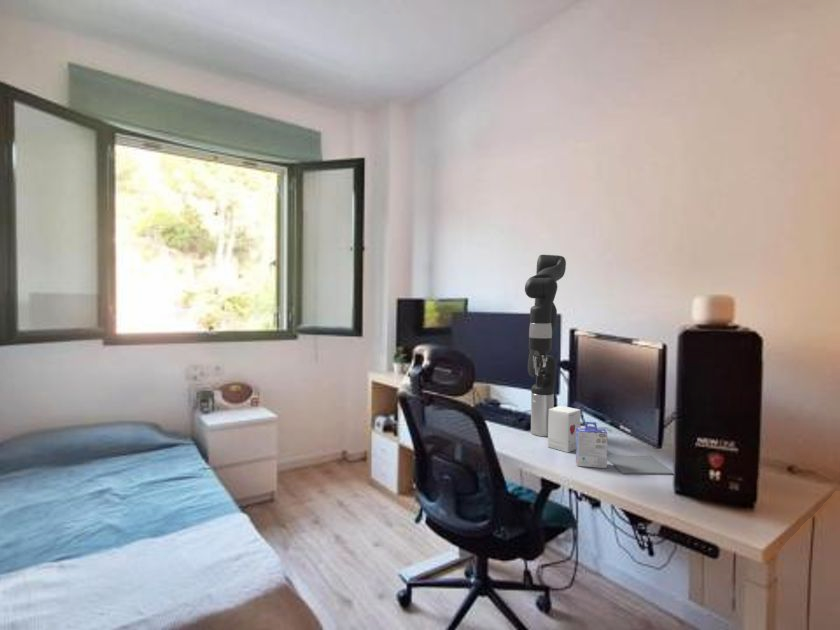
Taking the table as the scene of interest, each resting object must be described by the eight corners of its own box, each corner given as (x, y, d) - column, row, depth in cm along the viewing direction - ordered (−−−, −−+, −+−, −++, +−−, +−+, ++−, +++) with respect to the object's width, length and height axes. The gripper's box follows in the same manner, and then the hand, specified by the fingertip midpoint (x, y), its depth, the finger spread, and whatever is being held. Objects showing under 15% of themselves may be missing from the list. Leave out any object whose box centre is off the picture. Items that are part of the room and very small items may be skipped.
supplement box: (568, 453, 169) (568, 413, 168) (547, 447, 175) (547, 408, 175) (580, 447, 175) (581, 409, 174) (559, 442, 181) (560, 405, 181)
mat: (603, 456, 165) (604, 455, 165) (651, 457, 164) (651, 455, 164) (622, 474, 149) (622, 472, 149) (675, 474, 149) (675, 472, 148)
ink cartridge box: (604, 463, 159) (605, 422, 158) (607, 468, 153) (608, 426, 153) (574, 461, 161) (575, 420, 160) (577, 466, 155) (577, 424, 155)
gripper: (556, 338, 149) (556, 390, 150) (546, 334, 162) (545, 383, 163) (533, 337, 149) (533, 390, 150) (525, 334, 162) (524, 382, 163)
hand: (539, 386), depth 156 cm, fingers closed
